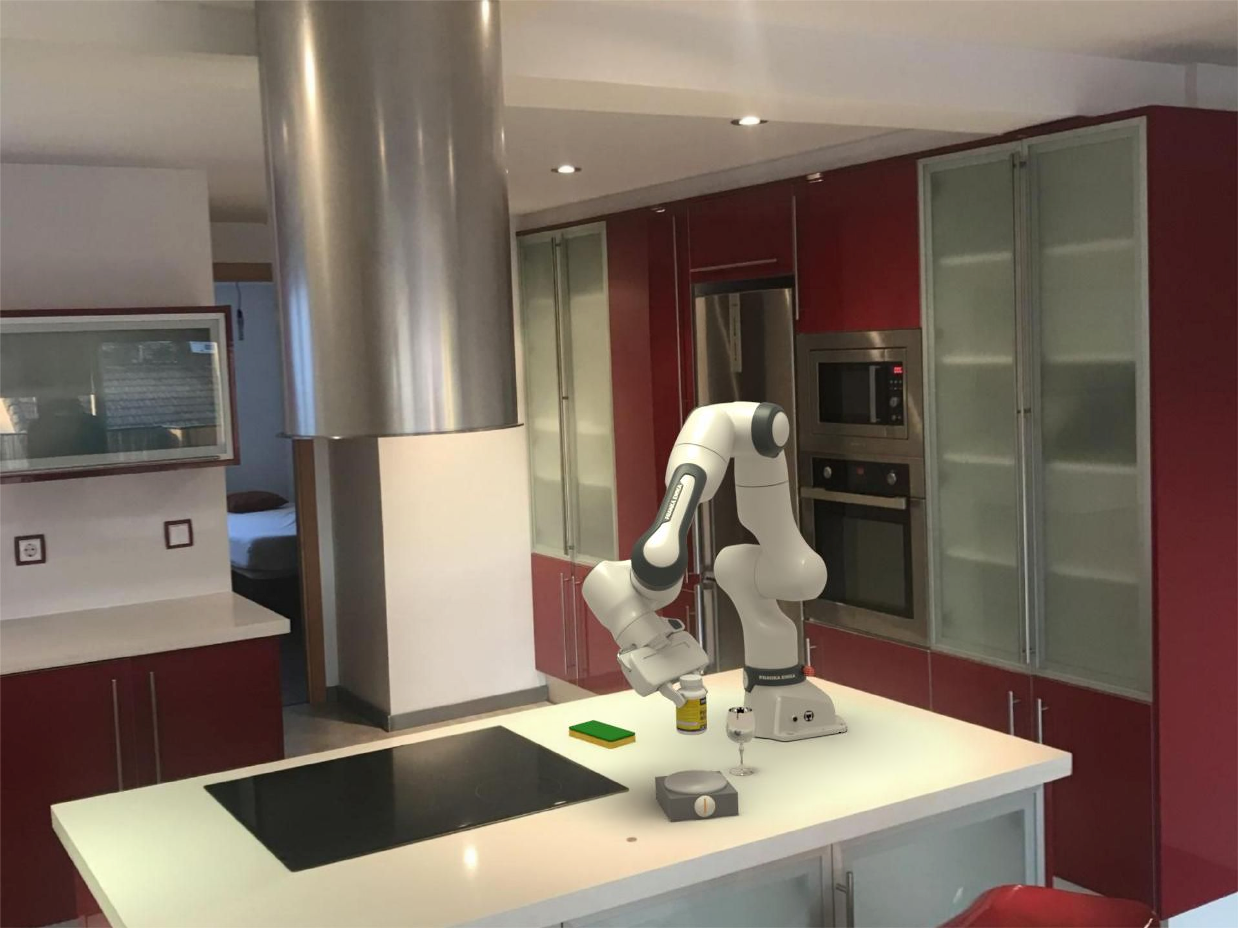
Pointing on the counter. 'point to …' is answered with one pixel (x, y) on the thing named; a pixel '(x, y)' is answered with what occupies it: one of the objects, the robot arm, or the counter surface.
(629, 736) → the dish sponge
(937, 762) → the counter surface
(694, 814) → the kitchen scale
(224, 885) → the counter surface
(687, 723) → the supplement bottle
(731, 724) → the wineglass
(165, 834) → the counter surface
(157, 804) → the counter surface
